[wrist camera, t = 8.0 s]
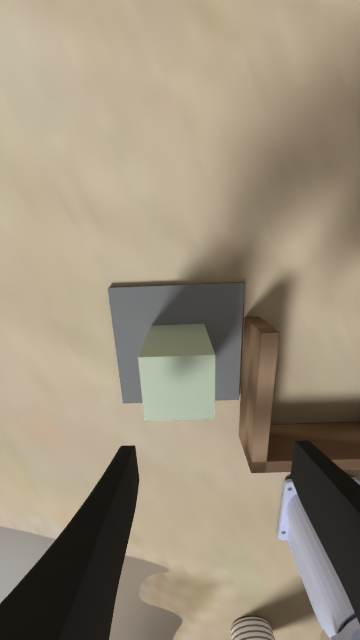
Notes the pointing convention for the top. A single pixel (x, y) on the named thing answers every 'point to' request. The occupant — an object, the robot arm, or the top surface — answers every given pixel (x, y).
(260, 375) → the wooden u-shaped shelf
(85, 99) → the top surface
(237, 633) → the cup
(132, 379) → the mat
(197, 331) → the block
